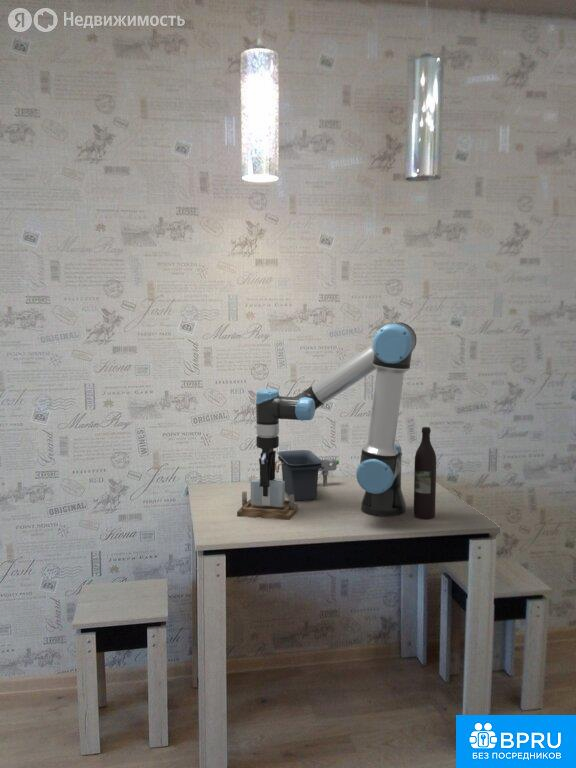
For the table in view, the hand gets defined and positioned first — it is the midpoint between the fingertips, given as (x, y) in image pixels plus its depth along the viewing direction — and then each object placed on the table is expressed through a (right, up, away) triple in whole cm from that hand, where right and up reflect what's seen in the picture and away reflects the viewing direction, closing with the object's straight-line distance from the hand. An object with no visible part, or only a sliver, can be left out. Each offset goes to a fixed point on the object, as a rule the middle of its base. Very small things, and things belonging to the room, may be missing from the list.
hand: (267, 503), depth 255 cm
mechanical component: (+21, +1, +33) cm, 39 cm away
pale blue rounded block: (0, 0, 0) cm, 0 cm away
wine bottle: (+52, -4, -5) cm, 53 cm away
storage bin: (+10, -1, +21) cm, 24 cm away
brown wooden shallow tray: (0, -3, 0) cm, 3 cm away
